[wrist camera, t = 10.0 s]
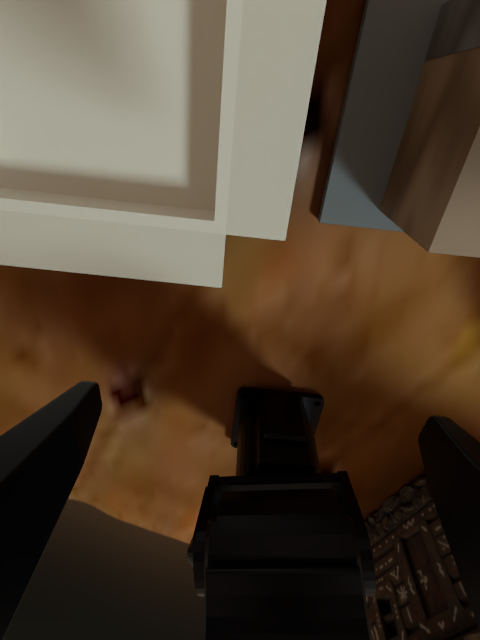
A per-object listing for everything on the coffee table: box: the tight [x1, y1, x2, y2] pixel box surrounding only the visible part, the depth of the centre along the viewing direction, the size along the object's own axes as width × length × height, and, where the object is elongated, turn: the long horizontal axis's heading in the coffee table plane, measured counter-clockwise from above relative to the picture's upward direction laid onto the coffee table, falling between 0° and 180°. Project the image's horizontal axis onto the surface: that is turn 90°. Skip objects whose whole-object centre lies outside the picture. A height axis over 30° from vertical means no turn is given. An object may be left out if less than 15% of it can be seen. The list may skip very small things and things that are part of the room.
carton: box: [0, 0, 327, 288], centre depth 14 cm, size 21×20×2 cm
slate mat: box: [318, 0, 449, 232], centre depth 16 cm, size 10×10×1 cm
